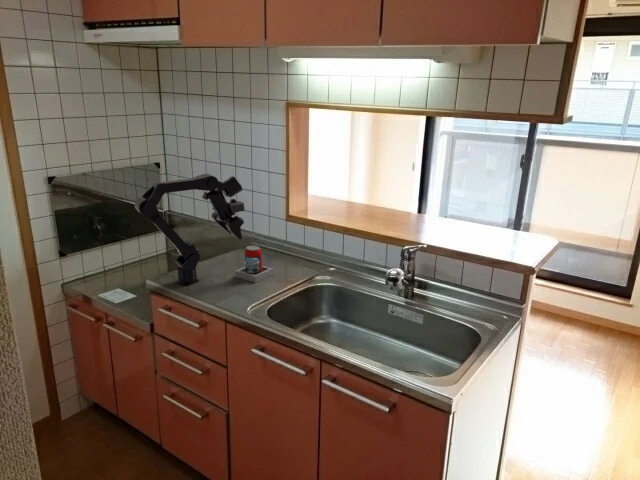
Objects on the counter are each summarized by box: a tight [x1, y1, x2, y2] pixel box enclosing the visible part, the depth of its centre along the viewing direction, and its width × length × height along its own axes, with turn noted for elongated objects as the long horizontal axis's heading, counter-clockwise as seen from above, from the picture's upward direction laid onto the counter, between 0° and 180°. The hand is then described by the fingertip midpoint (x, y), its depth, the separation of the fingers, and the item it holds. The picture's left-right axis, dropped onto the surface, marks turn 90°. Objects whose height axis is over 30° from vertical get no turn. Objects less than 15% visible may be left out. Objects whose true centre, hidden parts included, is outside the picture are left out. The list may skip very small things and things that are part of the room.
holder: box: [234, 265, 274, 284], centre depth 202 cm, size 11×11×2 cm
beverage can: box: [244, 244, 263, 275], centre depth 200 cm, size 7×7×12 cm
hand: (235, 236), depth 202 cm, fingers open, 9 cm apart
